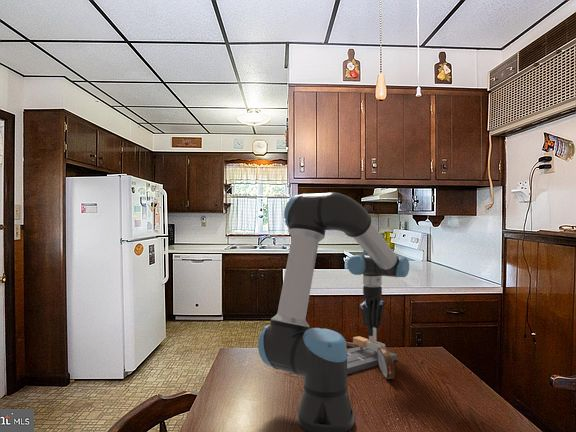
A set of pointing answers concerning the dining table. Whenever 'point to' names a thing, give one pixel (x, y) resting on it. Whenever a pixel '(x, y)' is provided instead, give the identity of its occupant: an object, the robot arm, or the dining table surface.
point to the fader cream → (374, 345)
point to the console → (362, 359)
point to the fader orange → (360, 342)
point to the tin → (386, 363)
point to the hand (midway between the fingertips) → (372, 343)
